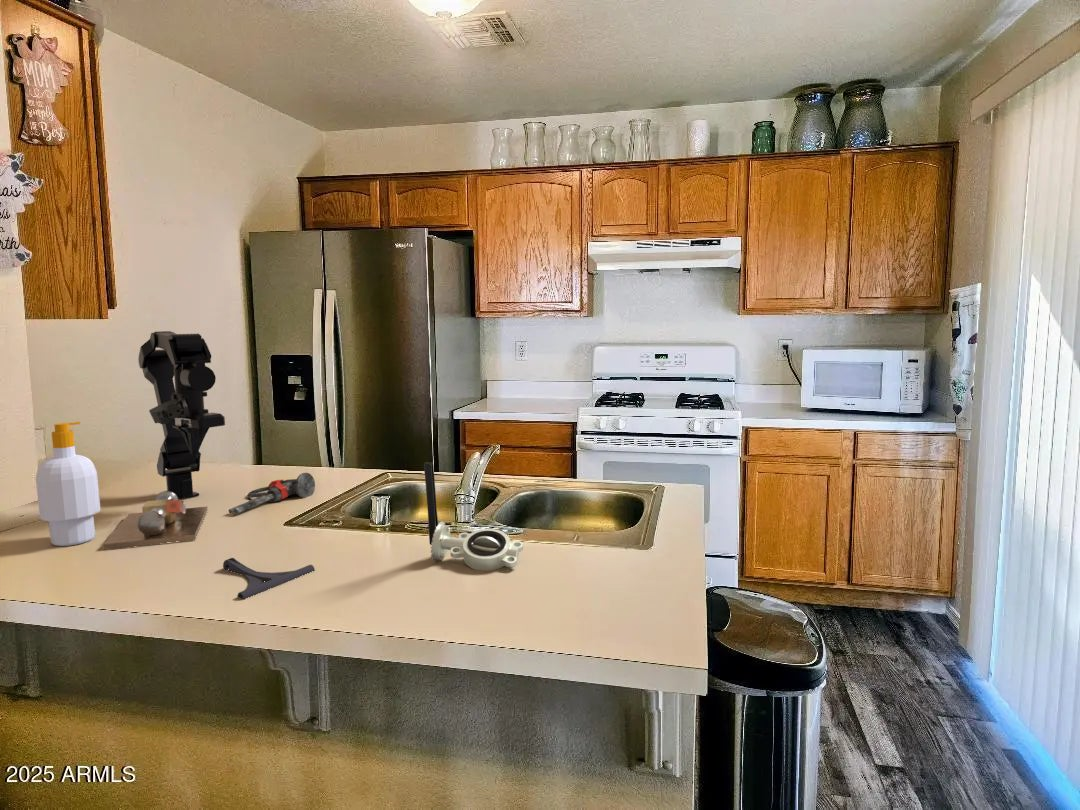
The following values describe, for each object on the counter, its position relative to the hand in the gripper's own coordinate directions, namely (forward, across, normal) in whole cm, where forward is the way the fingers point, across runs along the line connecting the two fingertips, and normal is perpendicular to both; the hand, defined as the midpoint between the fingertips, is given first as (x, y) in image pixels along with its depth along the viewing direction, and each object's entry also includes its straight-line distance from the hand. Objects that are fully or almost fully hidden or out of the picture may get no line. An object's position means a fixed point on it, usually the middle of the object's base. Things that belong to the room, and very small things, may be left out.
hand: (194, 454), depth 161 cm
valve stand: (+13, +9, -13) cm, 20 cm away
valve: (+14, +7, +13) cm, 20 cm away
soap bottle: (+13, +2, -27) cm, 30 cm away
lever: (+9, +11, -9) cm, 17 cm away
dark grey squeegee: (+14, +50, -17) cm, 54 cm away
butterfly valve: (+14, +78, +10) cm, 80 cm away
